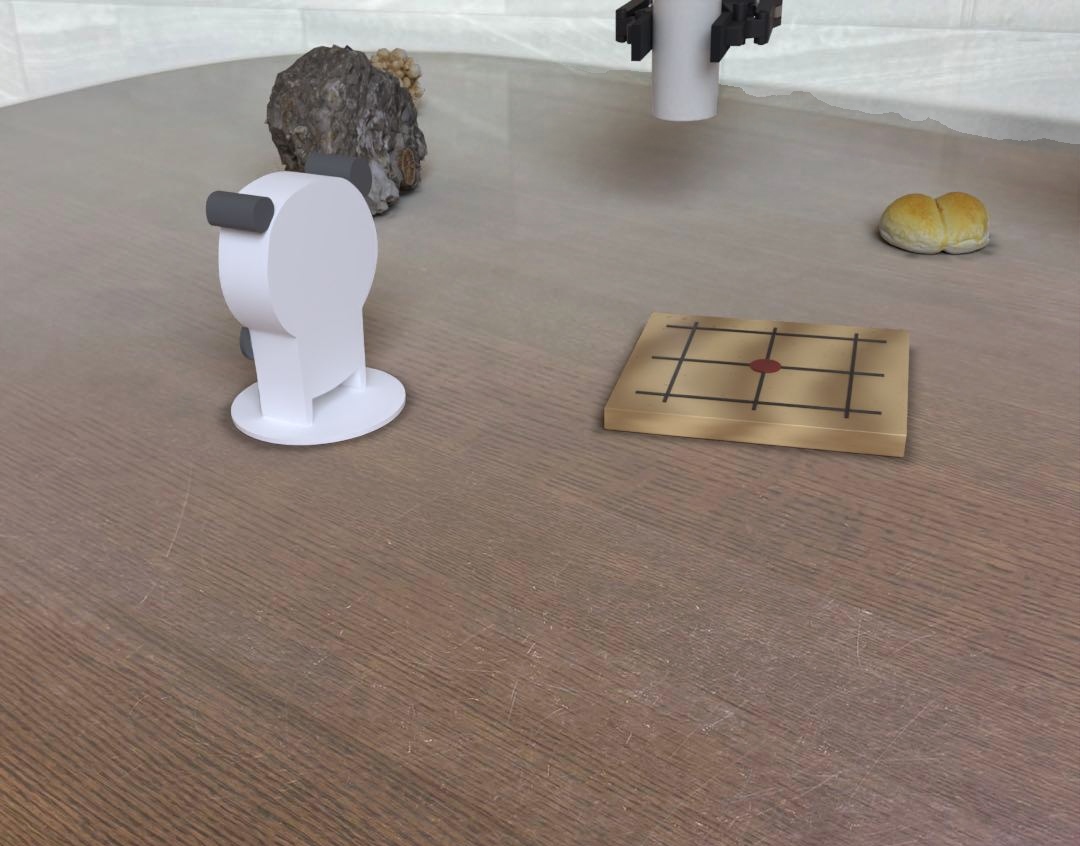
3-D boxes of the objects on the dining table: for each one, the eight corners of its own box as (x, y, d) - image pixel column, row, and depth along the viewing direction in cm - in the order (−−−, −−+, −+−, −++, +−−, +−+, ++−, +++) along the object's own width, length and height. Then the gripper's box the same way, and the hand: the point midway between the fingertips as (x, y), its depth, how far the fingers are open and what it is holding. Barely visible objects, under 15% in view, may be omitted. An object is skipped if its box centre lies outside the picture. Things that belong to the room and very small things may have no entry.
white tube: (721, 106, 104) (727, -34, 98) (712, 122, 99) (717, -24, 93) (657, 105, 105) (659, -33, 99) (645, 120, 101) (646, -24, 95)
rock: (400, 23, 103) (260, -17, 108) (328, 175, 102) (190, 127, 107) (469, 130, 120) (346, 91, 125) (409, 260, 119) (287, 216, 124)
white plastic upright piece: (308, 355, 86) (277, 141, 78) (443, 382, 81) (425, 157, 73) (195, 424, 77) (147, 191, 69) (339, 459, 73) (305, 213, 65)
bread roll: (875, 225, 107) (880, 179, 104) (981, 227, 105) (988, 181, 103) (880, 256, 100) (886, 208, 98) (993, 259, 98) (1001, 210, 96)
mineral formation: (436, 108, 150) (384, 129, 137) (342, 122, 154) (284, 143, 142) (422, 39, 146) (368, 54, 134) (327, 55, 151) (266, 72, 139)
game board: (907, 350, 84) (910, 328, 83) (903, 457, 71) (907, 433, 70) (651, 331, 88) (651, 310, 87) (603, 429, 75) (603, 406, 74)
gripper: (814, 41, 113) (791, 96, 94) (620, 39, 117) (561, 90, 99) (821, -47, 109) (799, -8, 90) (620, -46, 113) (559, -9, 95)
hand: (675, 43), depth 94 cm, fingers closed on white tube, 6 cm apart
